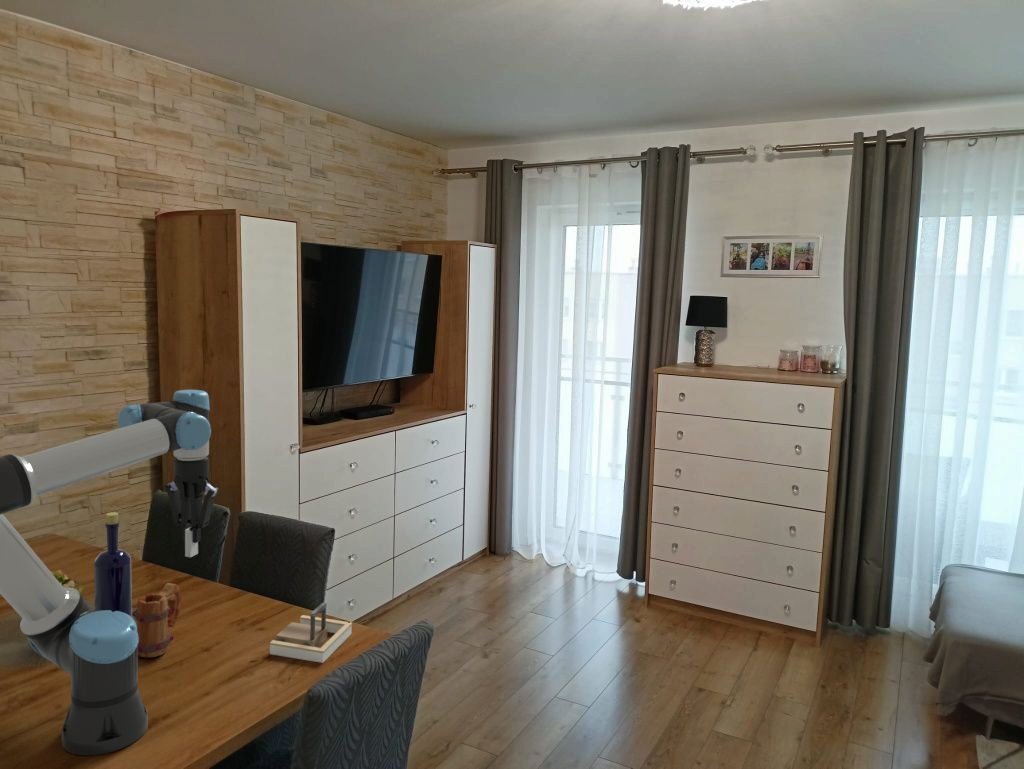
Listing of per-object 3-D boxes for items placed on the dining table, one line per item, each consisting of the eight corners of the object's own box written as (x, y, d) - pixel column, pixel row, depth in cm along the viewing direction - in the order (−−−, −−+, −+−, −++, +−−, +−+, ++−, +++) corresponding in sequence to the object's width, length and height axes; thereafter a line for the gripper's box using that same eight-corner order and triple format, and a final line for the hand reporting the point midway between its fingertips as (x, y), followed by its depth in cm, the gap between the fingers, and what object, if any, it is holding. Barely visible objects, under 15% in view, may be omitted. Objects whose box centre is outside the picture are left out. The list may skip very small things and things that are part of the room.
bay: (323, 663, 181) (323, 651, 181) (269, 654, 184) (269, 642, 184) (351, 633, 197) (352, 622, 197) (302, 625, 200) (302, 615, 200)
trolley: (310, 654, 185) (311, 616, 184) (274, 648, 187) (274, 610, 186) (328, 638, 194) (329, 600, 193) (293, 632, 196) (294, 595, 195)
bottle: (139, 626, 195) (138, 514, 191) (101, 636, 188) (99, 521, 184) (125, 614, 201) (124, 506, 197) (88, 624, 194) (86, 512, 191)
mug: (154, 665, 176) (154, 604, 174) (124, 660, 177) (123, 599, 176) (192, 637, 190) (192, 581, 188) (164, 633, 192) (164, 577, 190)
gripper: (226, 456, 175) (225, 553, 178) (177, 451, 177) (177, 546, 180) (206, 463, 167) (206, 564, 170) (155, 457, 170) (156, 556, 173)
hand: (191, 554), depth 175 cm, fingers closed
